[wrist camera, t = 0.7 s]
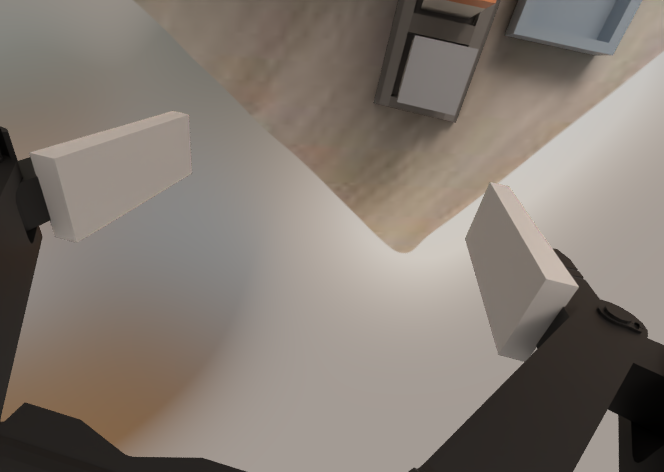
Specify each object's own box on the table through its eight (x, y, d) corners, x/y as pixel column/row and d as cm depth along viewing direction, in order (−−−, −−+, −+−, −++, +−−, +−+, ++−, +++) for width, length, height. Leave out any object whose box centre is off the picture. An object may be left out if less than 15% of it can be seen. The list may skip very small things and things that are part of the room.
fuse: (411, 41, 33) (415, 35, 24) (457, 51, 33) (478, 49, 24) (398, 89, 36) (397, 101, 26) (440, 99, 35) (454, 115, 26)
